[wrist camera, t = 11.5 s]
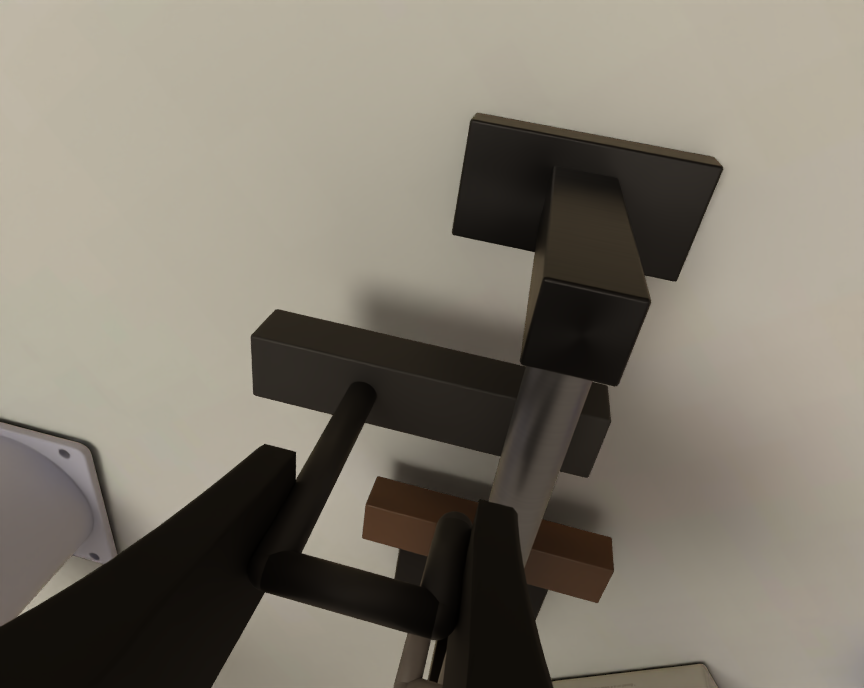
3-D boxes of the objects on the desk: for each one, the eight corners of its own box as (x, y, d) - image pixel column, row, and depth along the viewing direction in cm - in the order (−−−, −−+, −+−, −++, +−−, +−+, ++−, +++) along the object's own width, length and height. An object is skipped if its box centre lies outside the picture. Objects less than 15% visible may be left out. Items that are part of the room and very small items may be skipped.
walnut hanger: (373, 509, 21) (302, 689, 16) (377, 475, 20) (303, 654, 15) (596, 569, 20) (605, 782, 15) (612, 536, 19) (627, 752, 14)
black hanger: (276, 365, 15) (108, 575, 10) (275, 307, 14) (88, 503, 9) (587, 440, 14) (597, 717, 9) (608, 384, 13) (634, 656, 8)
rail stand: (398, 570, 25) (338, 767, 18) (475, 111, 14) (402, 201, 8) (534, 607, 24) (521, 824, 18) (715, 157, 14) (838, 290, 8)
